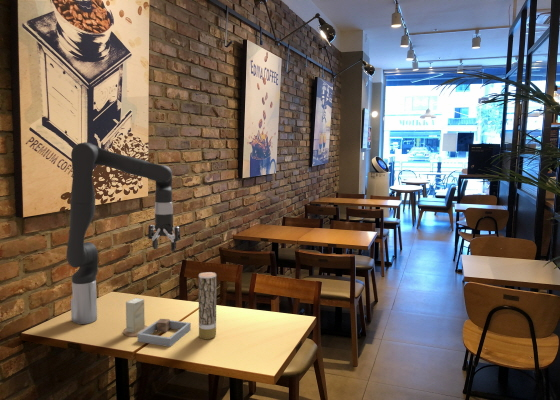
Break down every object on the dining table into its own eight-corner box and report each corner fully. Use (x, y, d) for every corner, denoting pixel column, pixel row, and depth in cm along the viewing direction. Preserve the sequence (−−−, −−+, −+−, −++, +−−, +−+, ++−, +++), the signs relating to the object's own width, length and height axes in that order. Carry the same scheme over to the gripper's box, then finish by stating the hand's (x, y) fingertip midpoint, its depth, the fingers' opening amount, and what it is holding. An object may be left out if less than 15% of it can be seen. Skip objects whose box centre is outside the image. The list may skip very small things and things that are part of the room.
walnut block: (156, 332, 178) (156, 322, 178) (160, 328, 182) (160, 318, 182) (166, 332, 178) (166, 323, 178) (169, 328, 182) (169, 319, 182)
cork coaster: (117, 334, 175) (117, 333, 175) (133, 325, 185) (133, 323, 185) (140, 337, 172) (139, 336, 172) (154, 328, 182) (154, 326, 182)
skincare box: (134, 333, 175) (134, 303, 173) (125, 331, 177) (125, 302, 175) (145, 327, 181) (144, 298, 179) (136, 325, 182) (136, 297, 181)
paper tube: (201, 340, 171) (201, 277, 168) (196, 334, 177) (196, 273, 174) (218, 337, 174) (218, 275, 171) (212, 331, 180) (213, 271, 177)
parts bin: (137, 341, 169) (137, 333, 169) (160, 325, 184) (160, 318, 184) (170, 346, 165) (170, 338, 165) (190, 330, 181) (190, 323, 180)
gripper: (144, 212, 187) (144, 250, 189) (174, 214, 183) (174, 253, 185) (154, 210, 194) (154, 246, 196) (183, 212, 190) (183, 249, 192)
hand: (164, 249), depth 190 cm, fingers open, 8 cm apart
